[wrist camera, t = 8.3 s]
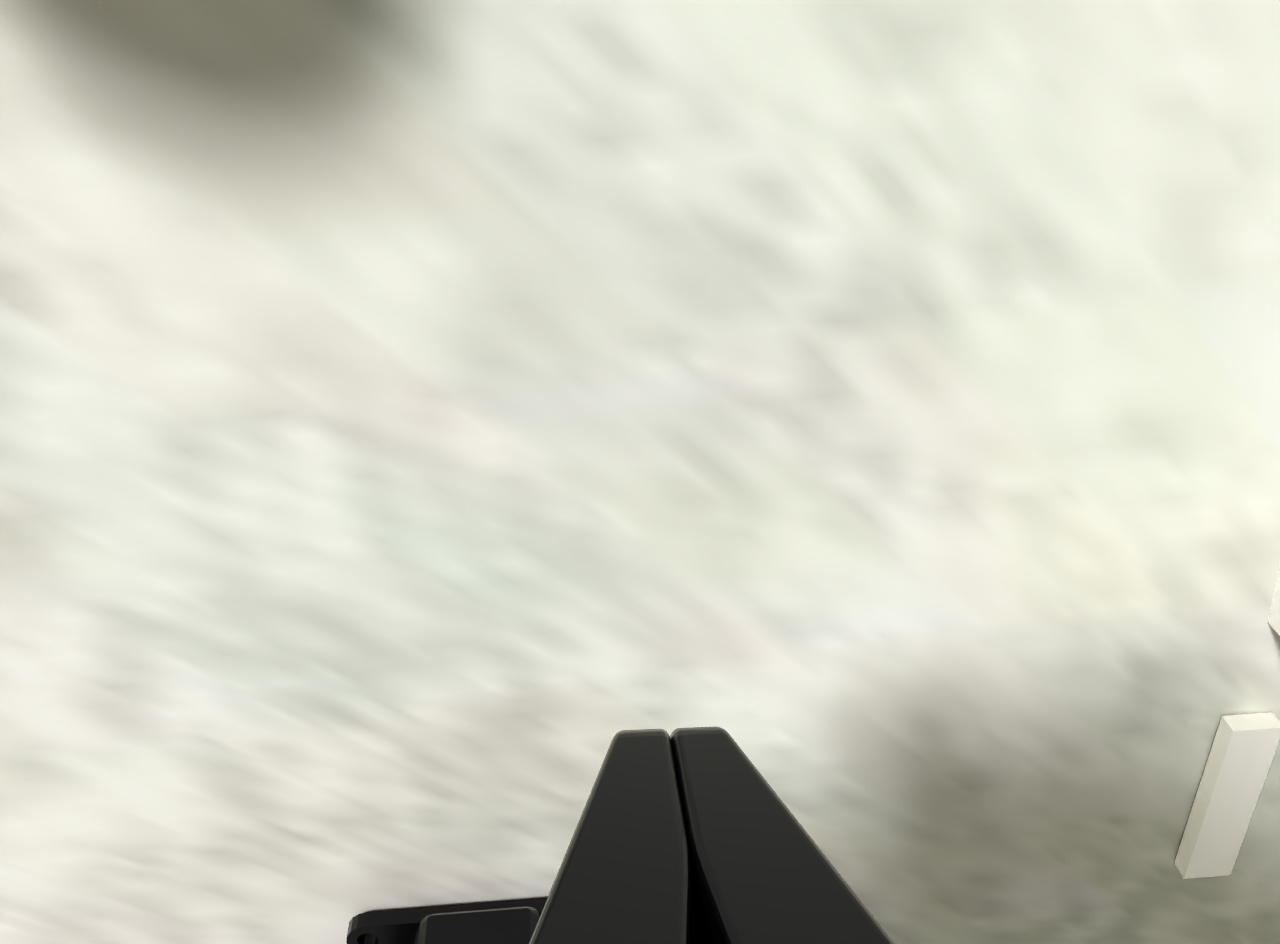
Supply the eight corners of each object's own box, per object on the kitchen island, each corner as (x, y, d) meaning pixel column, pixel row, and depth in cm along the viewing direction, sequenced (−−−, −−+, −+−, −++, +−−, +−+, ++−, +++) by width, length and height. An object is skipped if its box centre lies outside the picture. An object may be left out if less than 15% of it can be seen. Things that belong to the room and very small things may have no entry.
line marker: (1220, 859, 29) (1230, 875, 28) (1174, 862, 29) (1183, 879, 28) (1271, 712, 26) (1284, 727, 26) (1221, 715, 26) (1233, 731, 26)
